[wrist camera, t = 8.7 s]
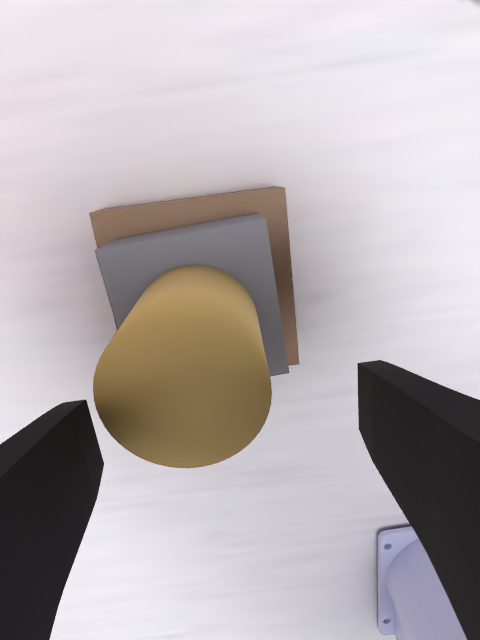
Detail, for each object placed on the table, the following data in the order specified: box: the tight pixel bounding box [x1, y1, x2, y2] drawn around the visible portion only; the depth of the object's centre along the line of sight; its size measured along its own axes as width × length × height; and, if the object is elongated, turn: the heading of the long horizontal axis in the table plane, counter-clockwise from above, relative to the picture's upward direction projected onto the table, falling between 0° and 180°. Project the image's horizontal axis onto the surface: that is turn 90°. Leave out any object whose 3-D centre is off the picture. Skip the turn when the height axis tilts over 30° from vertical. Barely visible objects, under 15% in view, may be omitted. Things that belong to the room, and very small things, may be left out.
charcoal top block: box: [95, 212, 289, 376], centre depth 16 cm, size 6×6×3 cm
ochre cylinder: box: [93, 265, 272, 468], centre depth 13 cm, size 4×4×5 cm
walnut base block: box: [89, 187, 299, 366], centre depth 19 cm, size 8×8×3 cm
